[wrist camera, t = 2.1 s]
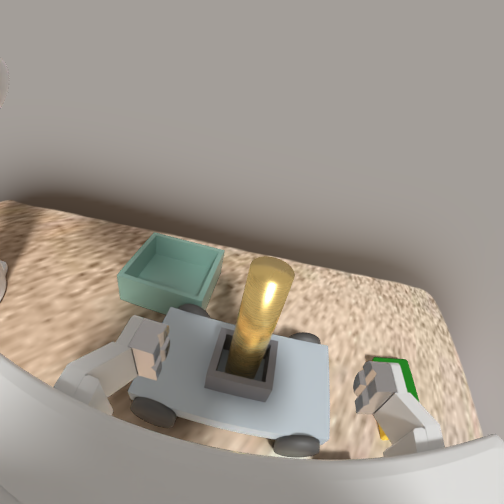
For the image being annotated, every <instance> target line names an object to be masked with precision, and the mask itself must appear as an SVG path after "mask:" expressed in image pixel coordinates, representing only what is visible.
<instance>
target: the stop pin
mask: <svg viewBox="0 0 504 504" xmlns="http://www.w3.org/2000/svg"><path fill="white" fill-rule="evenodd" d="M294 276H295V274H294V271H293V269H292V268H291V266H290V265H288V264H287V263H286V262H284V261H282V260H280V259H277V258H273V257H259V258H256V259H254V260H253V261H252V262H251V265H250V269H249V273H248V277H247V281H246V285H245V289H244V293H243V297H242V301H241V305H240V309H239V313H238V318H237V322H236V326H235V330H234V334H233V338H232V342H231V346H230V350H229V354H228V358H227V362H226V366H225V373H228V374H232V375H236V376H240V377H244V378H249V379H254V378H255V376H256V373H257V371H258V369H259V366H260V364H261V361H262V359H263V357H264V354H265V352H266V349H267V347H268V344H269V342H270V339H271V337H272V334H273V332H274V329H275V327H276V324H277V322H278V319H279V317H280V314H281V311H282V309H283V306H284V304H285V301H286V298H287V296H288V293H289V290H290V288H291V285H292V282H293V280H294Z"/></svg>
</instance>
